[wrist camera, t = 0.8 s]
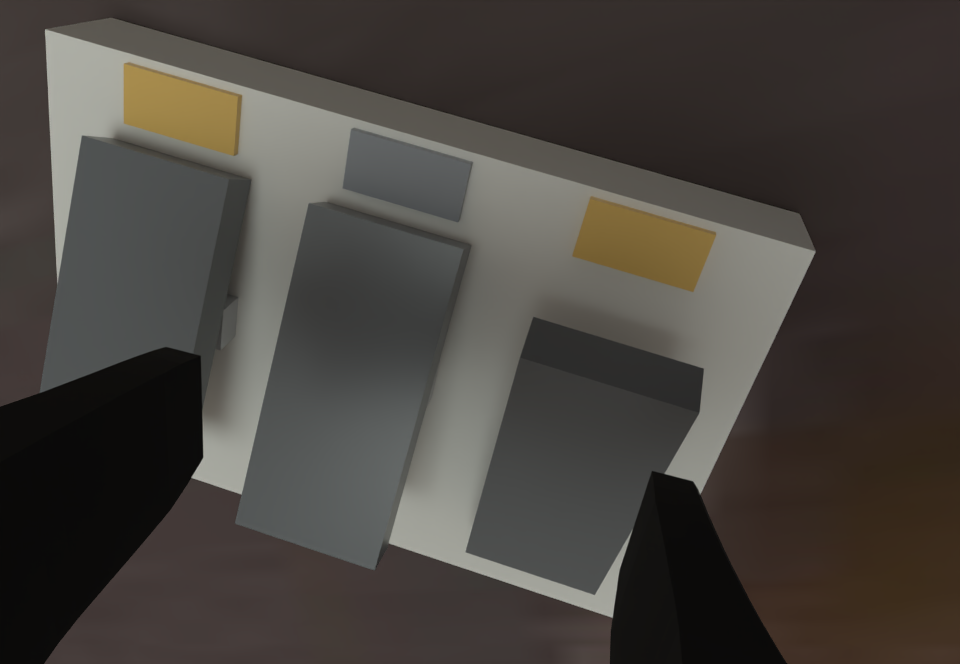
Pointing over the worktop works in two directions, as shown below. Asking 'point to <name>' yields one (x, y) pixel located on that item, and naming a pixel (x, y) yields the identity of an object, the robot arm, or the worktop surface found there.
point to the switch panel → (449, 213)
